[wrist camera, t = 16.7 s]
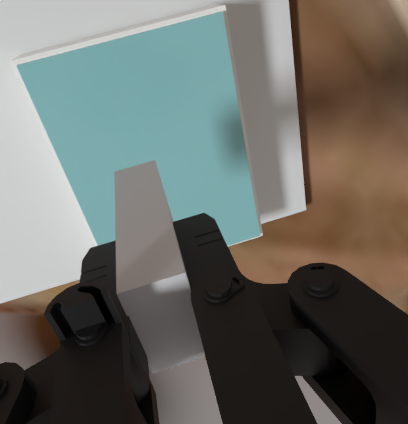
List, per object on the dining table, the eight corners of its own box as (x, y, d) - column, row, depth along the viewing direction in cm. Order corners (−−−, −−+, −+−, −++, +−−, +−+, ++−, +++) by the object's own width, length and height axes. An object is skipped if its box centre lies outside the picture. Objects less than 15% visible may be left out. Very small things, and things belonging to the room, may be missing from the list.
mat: (-177, 40, 16) (-186, 41, 15) (277, -72, 17) (282, -74, 17) (0, 297, 23) (-3, 304, 23) (302, 205, 25) (306, 209, 24)
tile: (8, 61, 15) (226, 4, 16) (21, 54, 17) (213, 4, 18) (111, 284, 21) (264, 237, 22) (111, 259, 23) (251, 216, 24)
